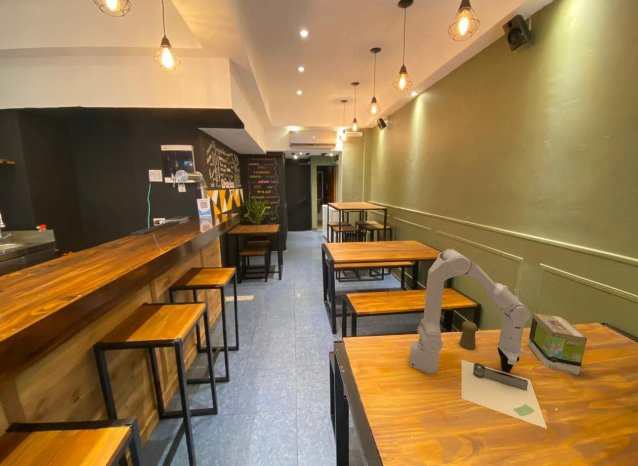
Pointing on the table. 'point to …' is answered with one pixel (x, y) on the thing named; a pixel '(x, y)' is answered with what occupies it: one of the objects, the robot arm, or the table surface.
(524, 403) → the dial board
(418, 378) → the table surface
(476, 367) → the pointer
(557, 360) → the tea box
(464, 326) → the cork
